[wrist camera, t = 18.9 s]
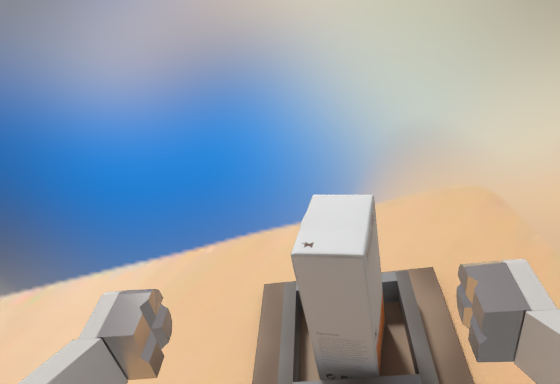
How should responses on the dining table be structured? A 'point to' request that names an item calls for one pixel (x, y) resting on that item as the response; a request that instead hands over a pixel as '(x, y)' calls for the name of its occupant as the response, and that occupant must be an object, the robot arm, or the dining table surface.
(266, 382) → the collar stand
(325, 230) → the skincare box
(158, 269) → the dining table surface
